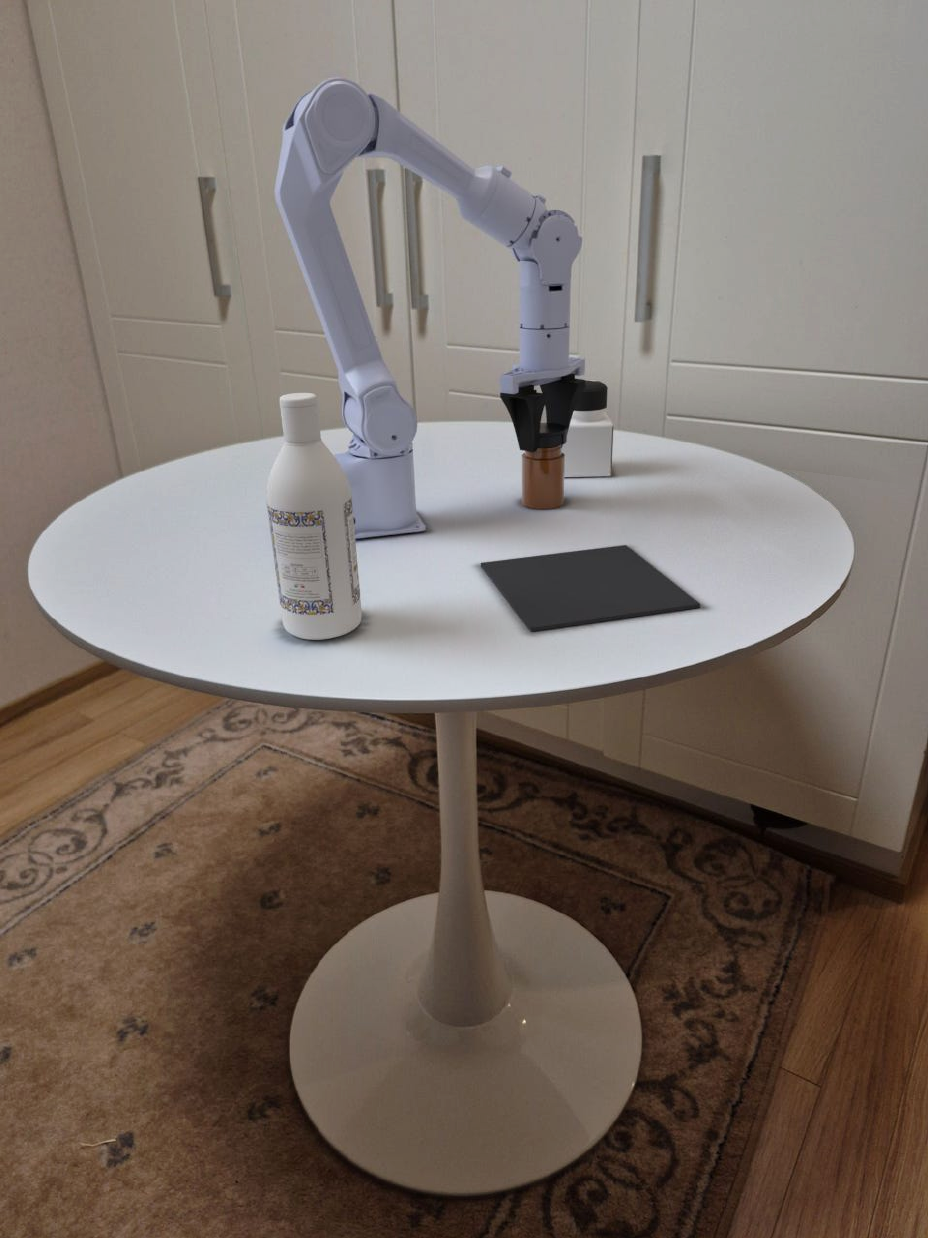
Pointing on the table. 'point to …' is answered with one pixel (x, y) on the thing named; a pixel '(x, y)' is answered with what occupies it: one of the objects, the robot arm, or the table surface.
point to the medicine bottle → (589, 435)
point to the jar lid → (552, 435)
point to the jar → (543, 478)
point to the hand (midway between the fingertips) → (543, 445)
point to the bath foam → (312, 529)
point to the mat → (585, 587)
